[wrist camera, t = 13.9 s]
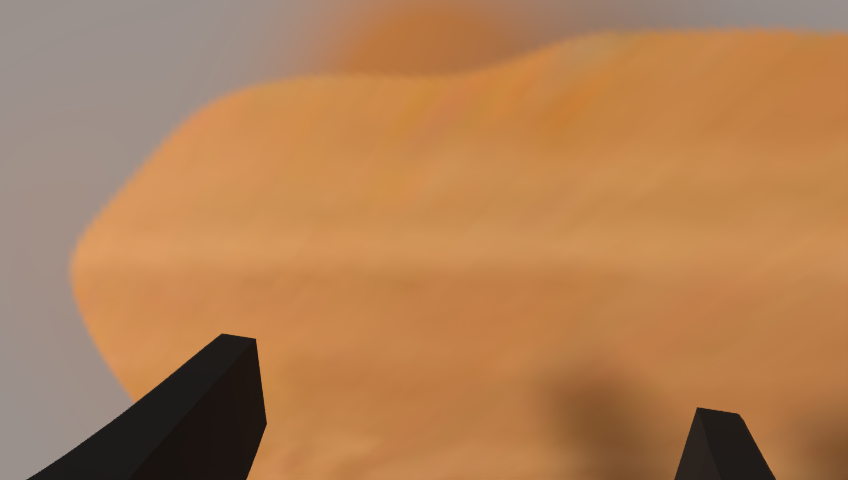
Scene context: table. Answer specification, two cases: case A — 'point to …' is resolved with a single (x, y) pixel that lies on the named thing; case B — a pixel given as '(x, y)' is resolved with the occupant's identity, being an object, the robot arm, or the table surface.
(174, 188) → the table surface
